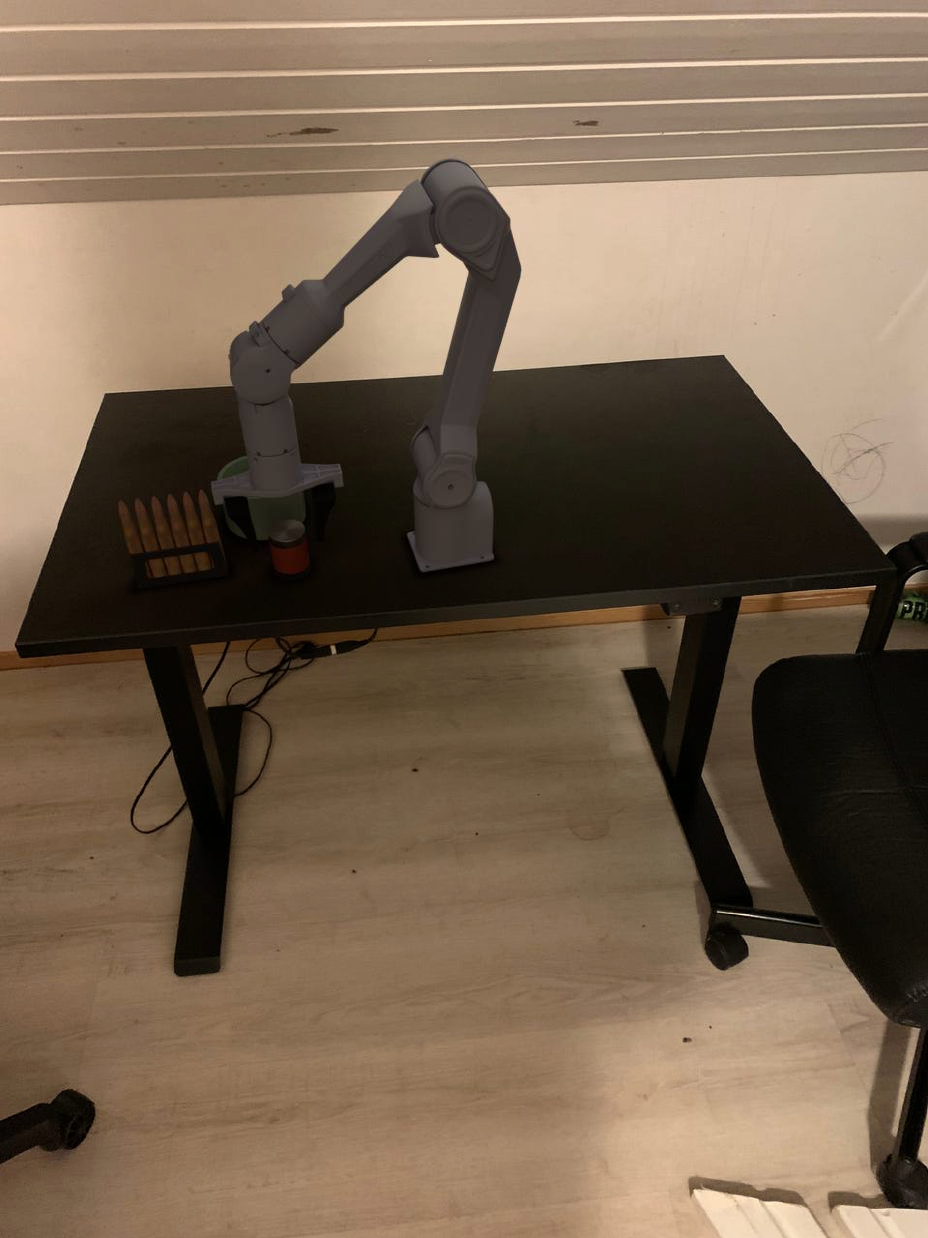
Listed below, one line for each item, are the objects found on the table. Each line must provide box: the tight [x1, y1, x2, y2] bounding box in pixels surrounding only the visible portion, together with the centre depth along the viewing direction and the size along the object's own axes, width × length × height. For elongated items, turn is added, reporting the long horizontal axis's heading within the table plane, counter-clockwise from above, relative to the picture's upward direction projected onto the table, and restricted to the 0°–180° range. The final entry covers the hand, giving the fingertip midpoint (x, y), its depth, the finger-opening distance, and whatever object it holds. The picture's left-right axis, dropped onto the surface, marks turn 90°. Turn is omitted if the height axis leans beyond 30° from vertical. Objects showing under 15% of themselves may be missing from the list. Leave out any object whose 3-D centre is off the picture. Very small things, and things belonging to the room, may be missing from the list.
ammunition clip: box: [118, 489, 230, 590], centre depth 101 cm, size 11×2×12 cm, turn 104°
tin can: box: [268, 520, 312, 582], centre depth 105 cm, size 4×4×6 cm
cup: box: [216, 455, 307, 541], centre depth 113 cm, size 10×10×6 cm
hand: (287, 541), depth 104 cm, fingers open, 7 cm apart
